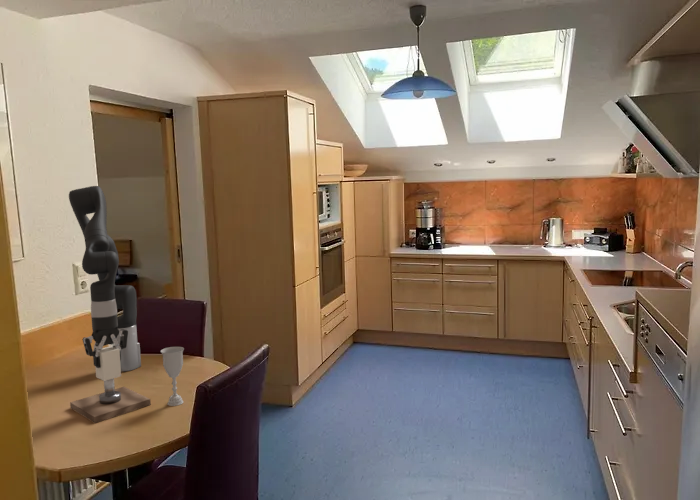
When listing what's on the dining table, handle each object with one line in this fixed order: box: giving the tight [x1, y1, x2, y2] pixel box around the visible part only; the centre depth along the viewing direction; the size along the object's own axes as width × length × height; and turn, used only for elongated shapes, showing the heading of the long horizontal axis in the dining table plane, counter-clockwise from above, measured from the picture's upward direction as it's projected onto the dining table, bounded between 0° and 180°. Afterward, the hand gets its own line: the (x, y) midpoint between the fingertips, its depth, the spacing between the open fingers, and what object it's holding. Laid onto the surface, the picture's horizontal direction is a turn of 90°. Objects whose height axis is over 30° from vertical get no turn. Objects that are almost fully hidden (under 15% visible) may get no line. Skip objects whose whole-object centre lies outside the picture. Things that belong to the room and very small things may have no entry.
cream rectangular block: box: [94, 345, 122, 382], centre depth 174 cm, size 6×6×9 cm
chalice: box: [160, 346, 185, 407], centre depth 177 cm, size 7×7×18 cm
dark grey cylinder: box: [99, 378, 121, 404], centre depth 175 cm, size 6×6×10 cm
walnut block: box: [69, 386, 151, 424], centre depth 176 cm, size 18×18×2 cm
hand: (107, 364), depth 174 cm, fingers closed on cream rectangular block, 5 cm apart
